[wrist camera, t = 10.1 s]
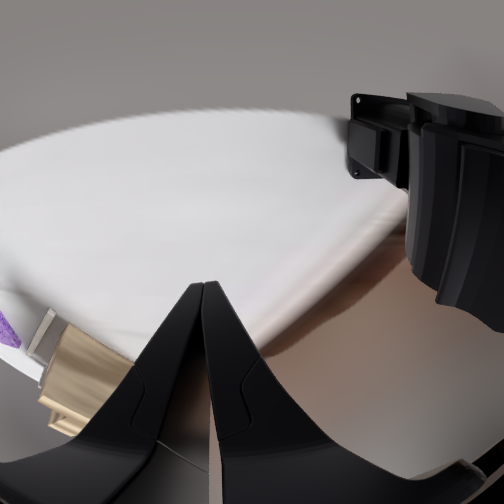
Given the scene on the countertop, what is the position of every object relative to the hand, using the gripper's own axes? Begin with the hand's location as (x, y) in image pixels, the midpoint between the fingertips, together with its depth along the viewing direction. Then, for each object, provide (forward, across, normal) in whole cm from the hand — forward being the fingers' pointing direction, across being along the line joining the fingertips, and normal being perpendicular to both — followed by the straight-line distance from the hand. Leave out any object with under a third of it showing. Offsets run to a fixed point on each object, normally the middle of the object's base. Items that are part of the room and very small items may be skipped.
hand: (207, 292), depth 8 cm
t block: (+12, +23, +23) cm, 35 cm away
